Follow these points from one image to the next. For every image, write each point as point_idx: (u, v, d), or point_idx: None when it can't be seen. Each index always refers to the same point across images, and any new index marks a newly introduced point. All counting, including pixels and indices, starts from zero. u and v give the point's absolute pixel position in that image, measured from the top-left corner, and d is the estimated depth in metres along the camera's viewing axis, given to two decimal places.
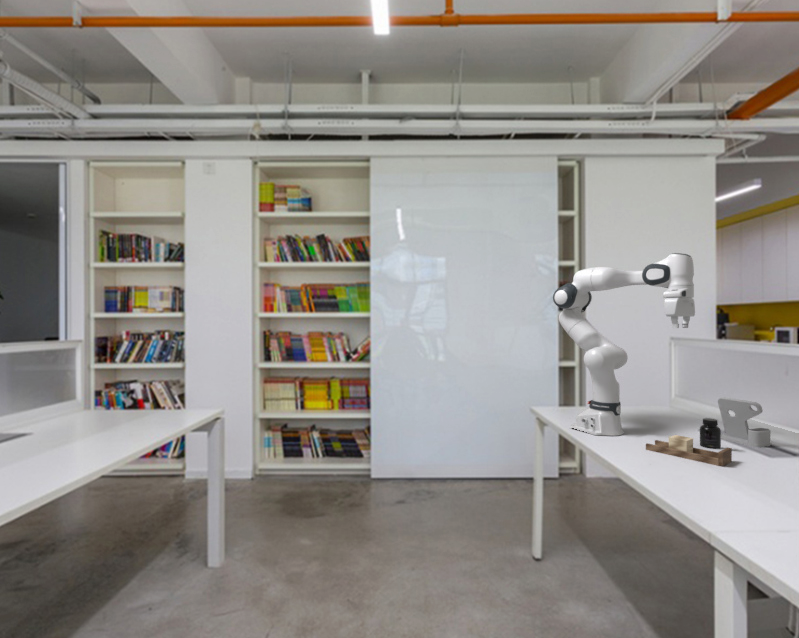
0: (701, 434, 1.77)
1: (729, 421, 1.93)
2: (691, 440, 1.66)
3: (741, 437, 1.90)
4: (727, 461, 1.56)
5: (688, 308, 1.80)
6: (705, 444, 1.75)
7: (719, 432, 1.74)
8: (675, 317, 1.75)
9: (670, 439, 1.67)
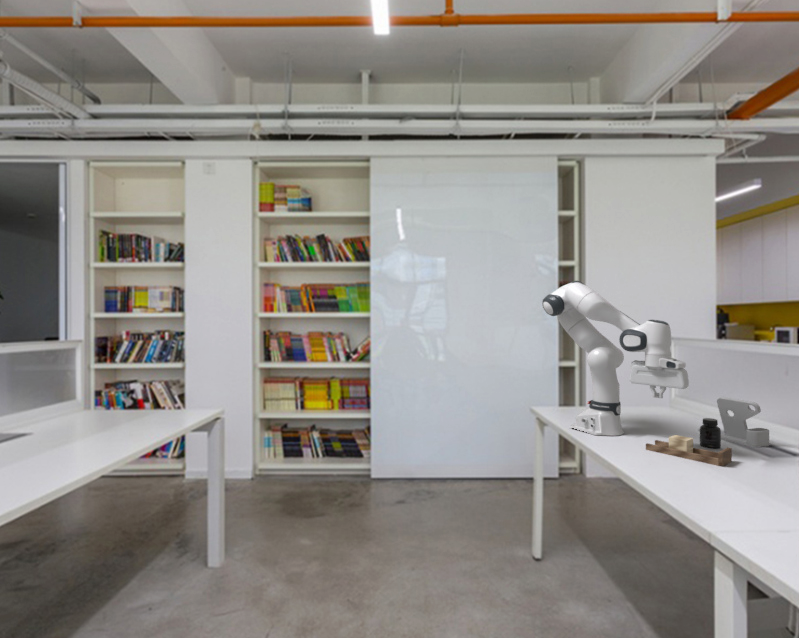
0: (701, 434, 1.77)
1: (728, 421, 1.93)
2: (691, 440, 1.66)
3: (740, 437, 1.90)
4: (727, 461, 1.56)
5: None
6: (705, 444, 1.75)
7: (719, 432, 1.74)
8: (665, 387, 1.72)
9: (670, 439, 1.67)
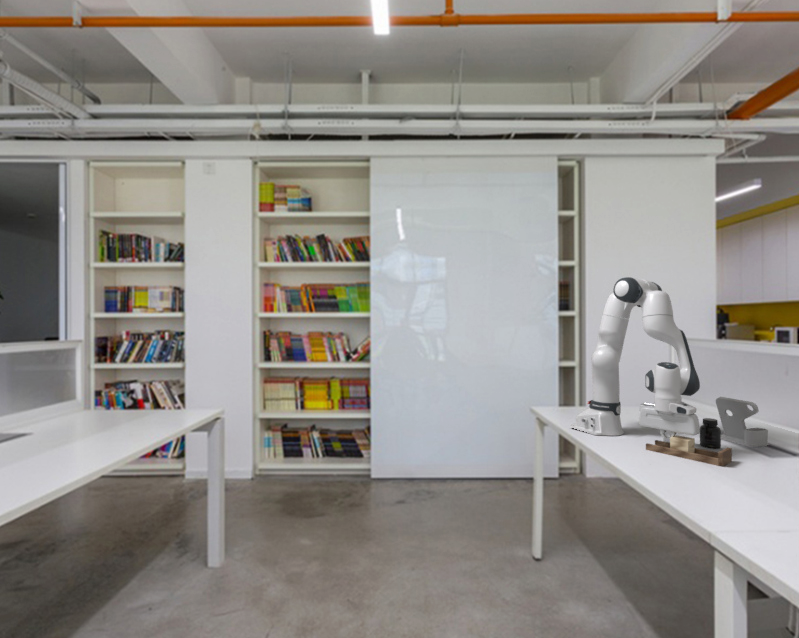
0: (701, 434, 1.77)
1: (727, 421, 1.93)
2: (693, 440, 1.65)
3: (739, 437, 1.91)
4: (727, 461, 1.56)
5: None
6: (705, 444, 1.75)
7: (719, 432, 1.74)
8: (675, 432, 1.69)
9: (671, 439, 1.67)
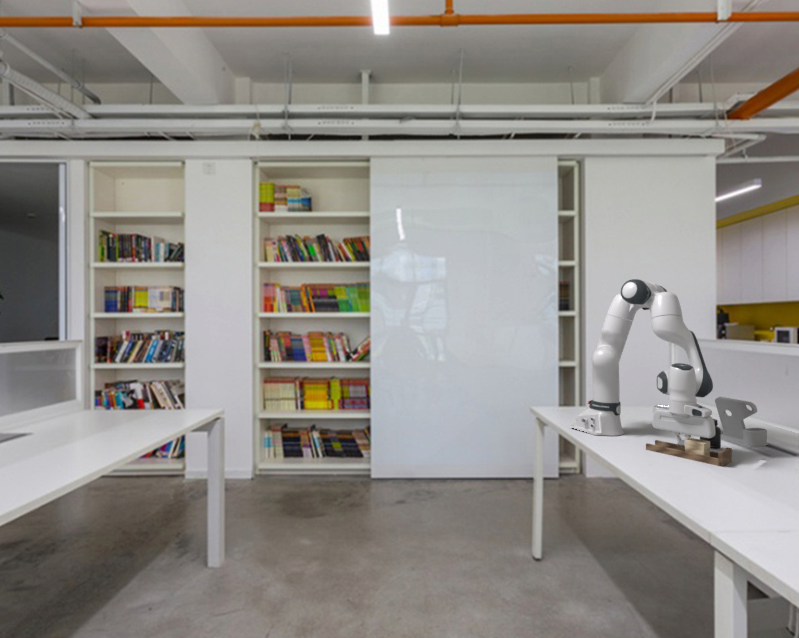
0: None
1: (726, 421, 1.93)
2: (708, 443, 1.61)
3: (738, 437, 1.91)
4: (727, 461, 1.56)
5: None
6: None
7: (719, 432, 1.74)
8: (690, 434, 1.65)
9: (686, 442, 1.63)
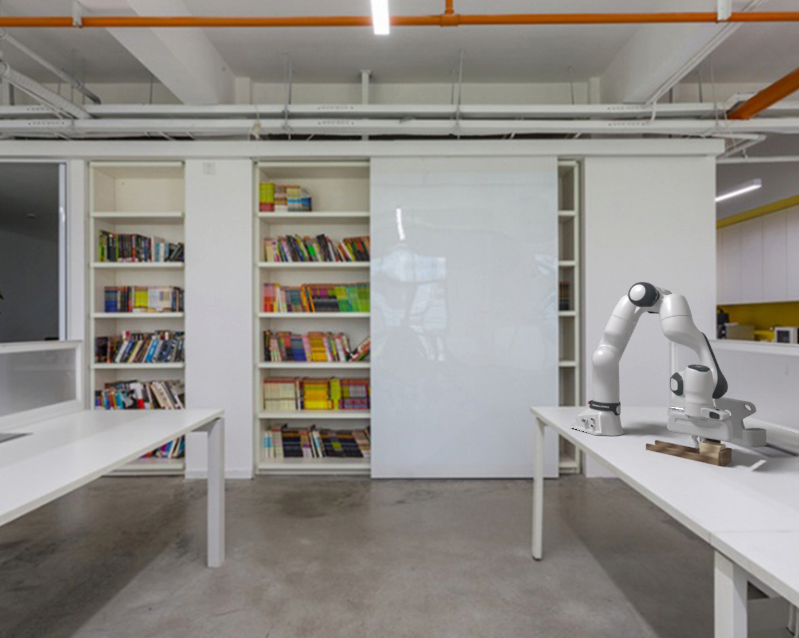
0: None
1: None
2: (724, 446, 1.57)
3: (738, 437, 1.91)
4: (727, 461, 1.56)
5: None
6: None
7: None
8: (705, 437, 1.61)
9: (701, 445, 1.59)
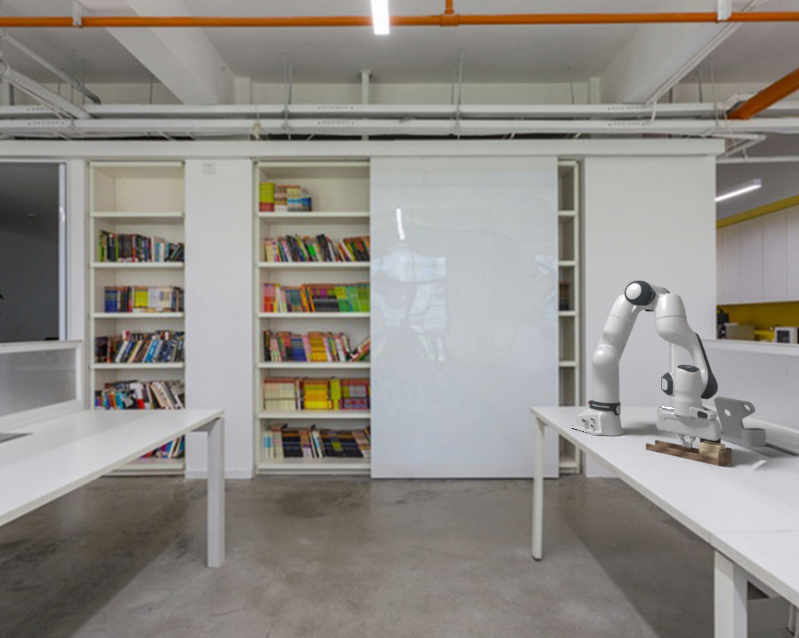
0: None
1: (725, 420, 1.94)
2: (723, 446, 1.58)
3: (737, 437, 1.91)
4: (727, 461, 1.56)
5: None
6: None
7: None
8: (695, 437, 1.64)
9: (701, 445, 1.59)
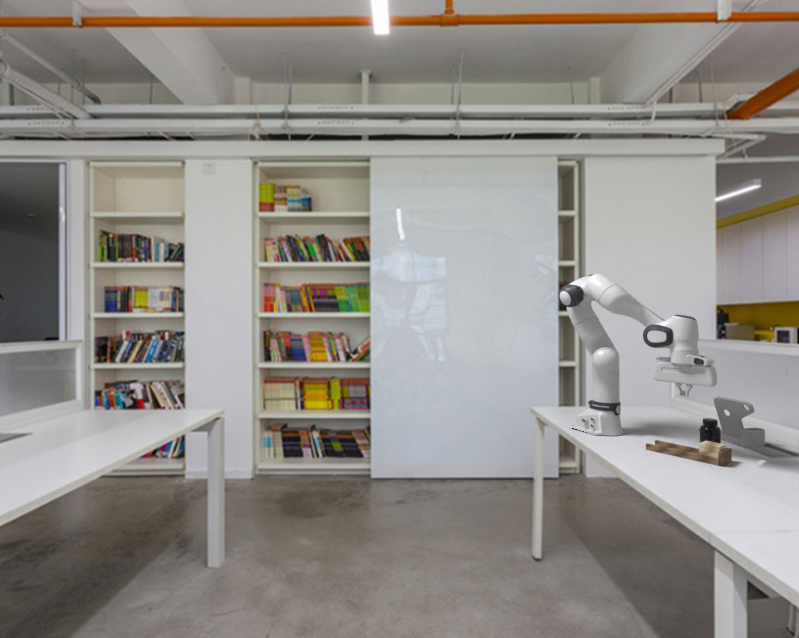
0: (701, 434, 1.77)
1: (725, 420, 1.94)
2: (723, 446, 1.58)
3: (737, 436, 1.91)
4: (727, 461, 1.56)
5: None
6: None
7: (719, 432, 1.74)
8: (692, 385, 1.65)
9: (701, 445, 1.59)
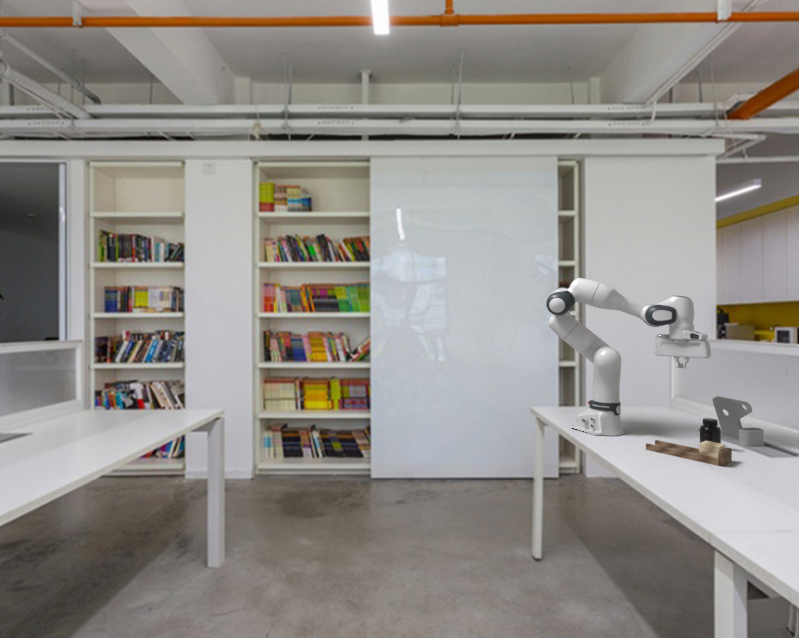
0: (701, 434, 1.77)
1: (724, 420, 1.94)
2: (723, 446, 1.58)
3: (736, 436, 1.91)
4: (727, 461, 1.56)
5: None
6: None
7: (719, 432, 1.74)
8: (688, 358, 1.85)
9: (701, 445, 1.59)
